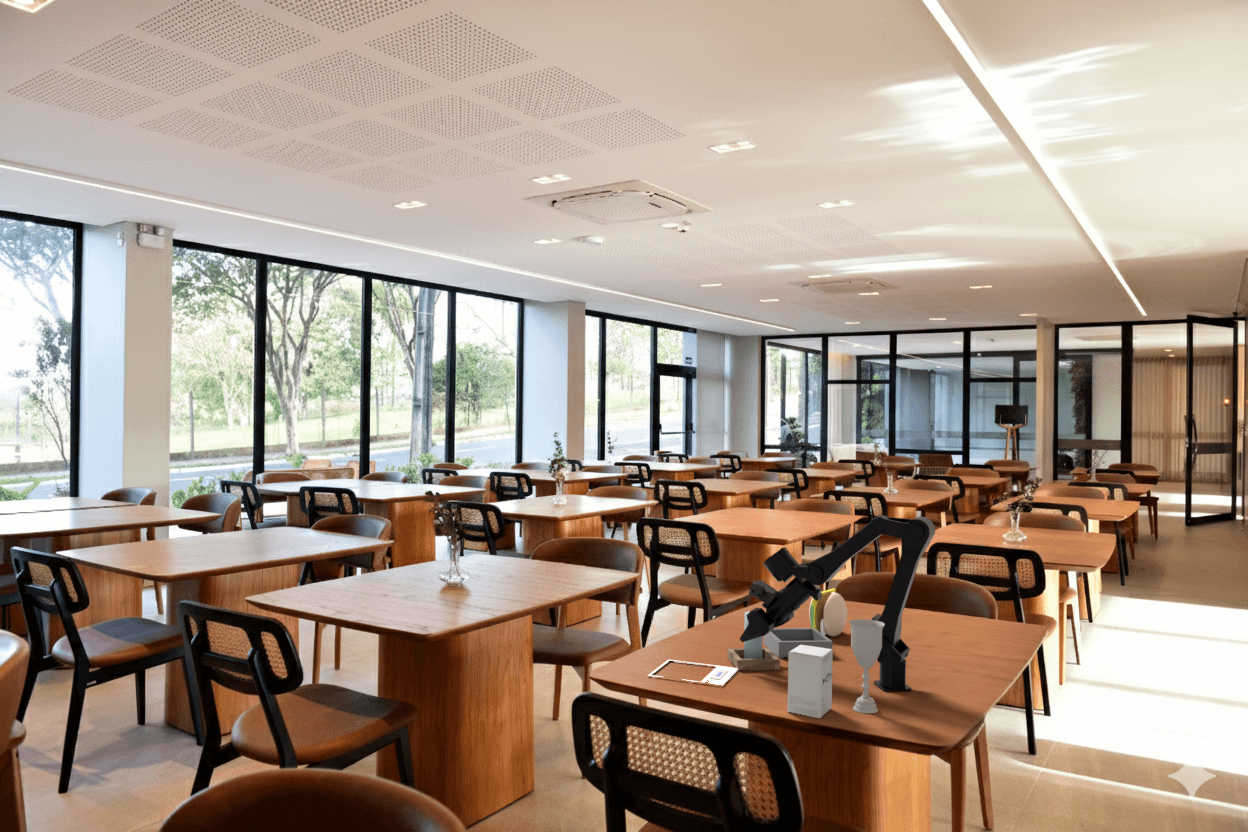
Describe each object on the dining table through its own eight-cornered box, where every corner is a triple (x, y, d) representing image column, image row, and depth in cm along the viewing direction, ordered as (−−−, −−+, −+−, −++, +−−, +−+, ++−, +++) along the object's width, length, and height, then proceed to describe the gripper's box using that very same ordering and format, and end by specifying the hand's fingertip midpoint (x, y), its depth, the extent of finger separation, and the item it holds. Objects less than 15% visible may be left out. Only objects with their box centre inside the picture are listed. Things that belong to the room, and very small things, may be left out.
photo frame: (722, 684, 194) (647, 674, 201) (722, 689, 194) (647, 679, 201) (739, 667, 207) (668, 658, 214) (739, 671, 207) (668, 663, 214)
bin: (832, 657, 220) (832, 641, 220) (778, 657, 219) (778, 642, 219) (814, 642, 234) (814, 627, 234) (763, 643, 233) (763, 628, 233)
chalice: (877, 703, 184) (878, 619, 184) (888, 714, 177) (889, 627, 177) (843, 703, 184) (844, 619, 184) (852, 714, 177) (854, 626, 177)
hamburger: (832, 641, 236) (832, 597, 236) (805, 636, 241) (805, 593, 241) (852, 633, 245) (852, 591, 245) (825, 628, 250) (826, 587, 250)
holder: (779, 669, 208) (779, 659, 208) (737, 670, 207) (737, 660, 207) (767, 657, 219) (767, 648, 219) (727, 658, 217) (727, 648, 217)
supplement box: (821, 719, 174) (822, 656, 174) (786, 712, 178) (787, 651, 178) (832, 709, 181) (833, 648, 181) (798, 702, 184) (799, 643, 184)
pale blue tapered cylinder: (764, 666, 211) (764, 615, 211) (746, 666, 210) (747, 615, 210) (759, 661, 215) (760, 611, 215) (742, 661, 215) (742, 611, 215)
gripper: (782, 565, 219) (741, 603, 224) (755, 576, 203) (711, 617, 208) (812, 600, 215) (769, 638, 220) (787, 614, 199) (741, 655, 204)
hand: (748, 636), depth 214 cm, fingers open, 9 cm apart
